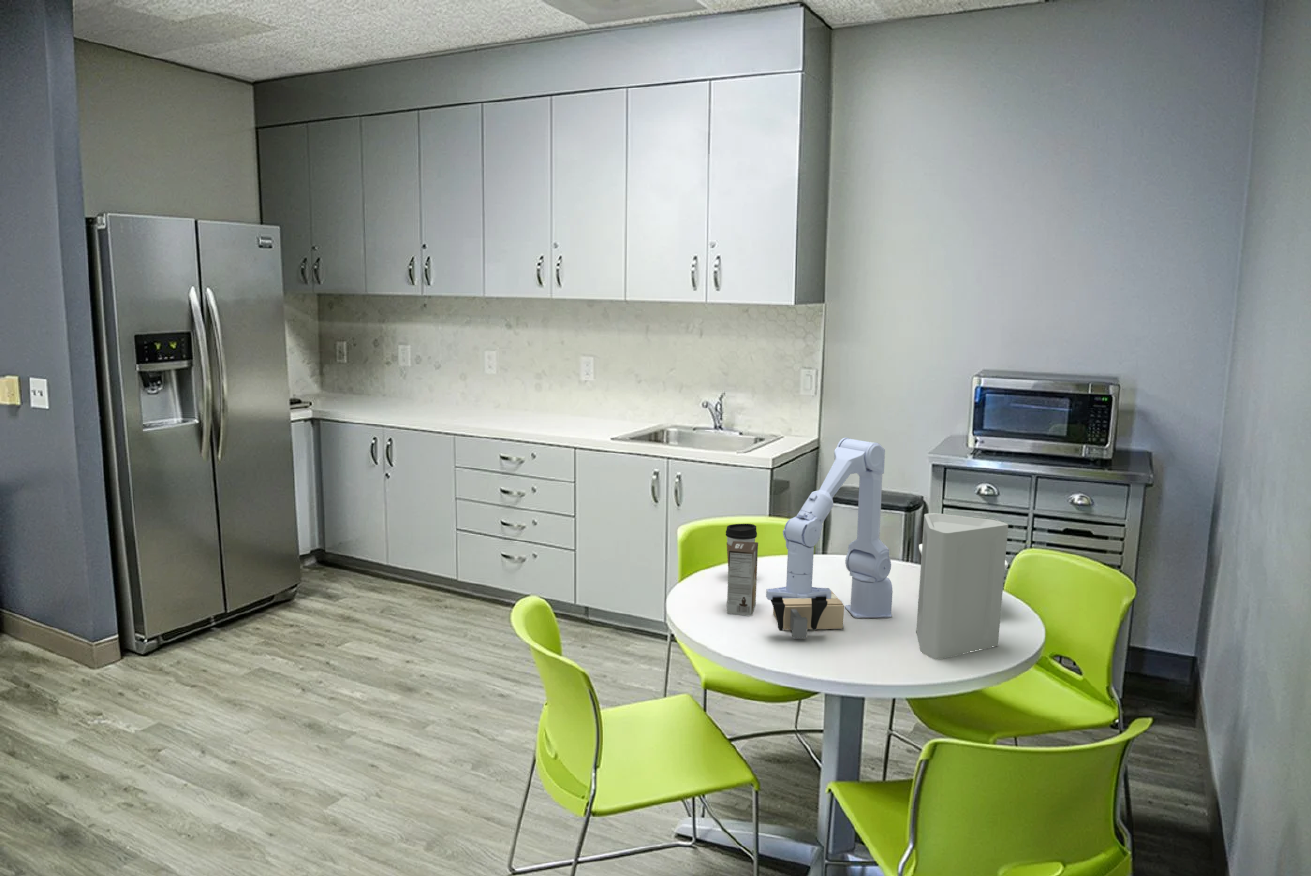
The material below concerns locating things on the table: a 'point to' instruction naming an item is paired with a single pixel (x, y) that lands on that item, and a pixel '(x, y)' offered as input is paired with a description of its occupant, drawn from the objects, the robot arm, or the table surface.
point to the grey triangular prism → (960, 584)
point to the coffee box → (742, 578)
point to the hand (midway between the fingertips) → (797, 628)
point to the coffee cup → (740, 534)
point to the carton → (808, 602)
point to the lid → (801, 619)
